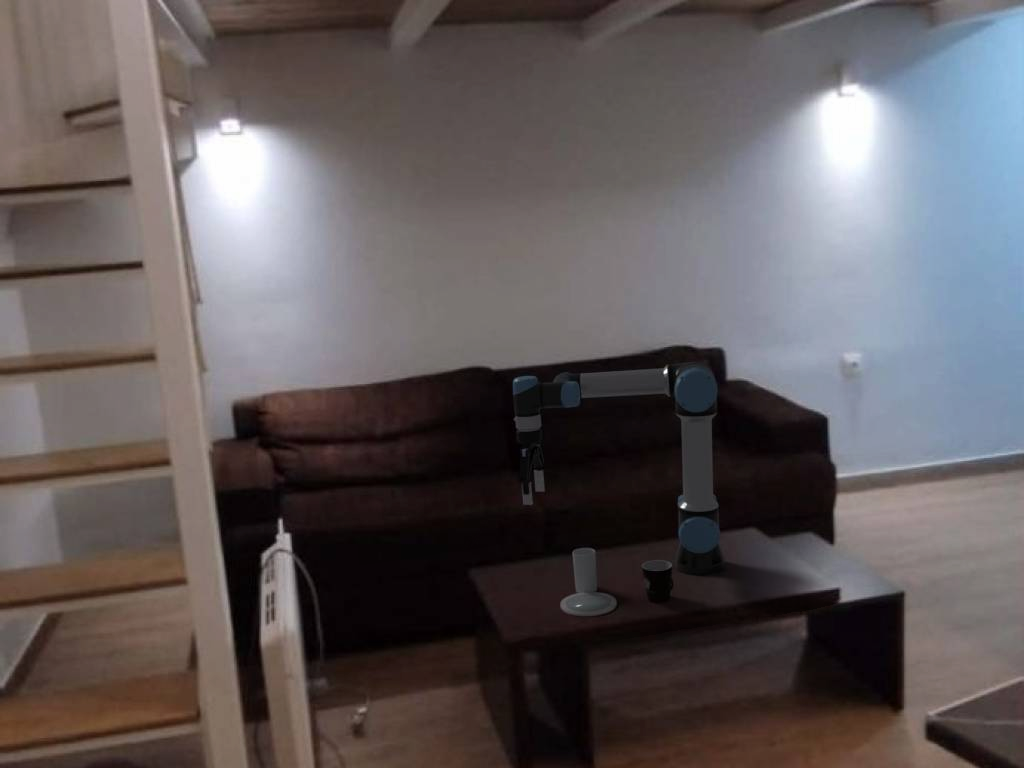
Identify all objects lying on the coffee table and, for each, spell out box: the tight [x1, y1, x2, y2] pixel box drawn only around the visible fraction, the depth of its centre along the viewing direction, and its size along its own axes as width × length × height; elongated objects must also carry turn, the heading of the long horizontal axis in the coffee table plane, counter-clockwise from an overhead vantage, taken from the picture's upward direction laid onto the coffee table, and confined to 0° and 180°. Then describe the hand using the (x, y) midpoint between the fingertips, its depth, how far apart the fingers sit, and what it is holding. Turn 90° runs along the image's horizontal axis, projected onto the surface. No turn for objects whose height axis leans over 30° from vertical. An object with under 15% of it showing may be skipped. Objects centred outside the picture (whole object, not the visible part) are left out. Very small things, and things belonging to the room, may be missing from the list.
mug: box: [572, 547, 598, 593], centre depth 305 cm, size 10×7×12 cm, turn 5°
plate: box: [560, 591, 618, 617], centre depth 293 cm, size 16×16×1 cm
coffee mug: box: [641, 559, 674, 604], centre depth 292 cm, size 12×9×10 cm
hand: (534, 497), depth 307 cm, fingers open, 13 cm apart
